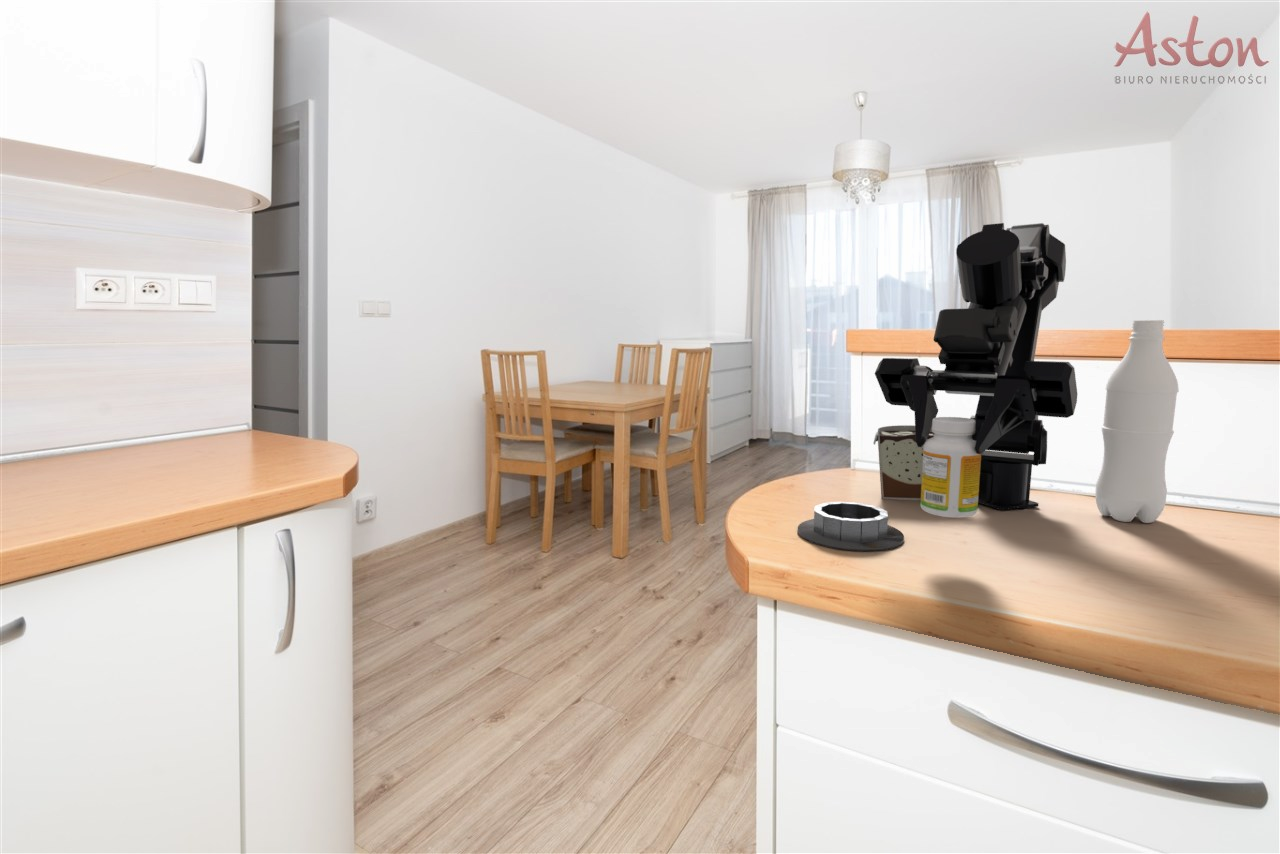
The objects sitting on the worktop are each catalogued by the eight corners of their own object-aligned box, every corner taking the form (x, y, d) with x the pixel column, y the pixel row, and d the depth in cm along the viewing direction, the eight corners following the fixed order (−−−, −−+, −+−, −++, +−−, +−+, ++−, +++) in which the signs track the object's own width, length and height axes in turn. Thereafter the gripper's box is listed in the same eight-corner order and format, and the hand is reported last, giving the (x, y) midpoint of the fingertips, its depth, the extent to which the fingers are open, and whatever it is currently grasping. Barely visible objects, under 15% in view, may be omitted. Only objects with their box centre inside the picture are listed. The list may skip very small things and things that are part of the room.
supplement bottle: (972, 506, 69) (978, 416, 67) (981, 520, 64) (988, 423, 62) (917, 502, 70) (922, 414, 69) (922, 516, 65) (928, 421, 64)
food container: (948, 490, 97) (952, 425, 95) (962, 501, 91) (966, 431, 89) (863, 488, 99) (866, 424, 97) (871, 498, 93) (874, 430, 91)
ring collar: (865, 516, 83) (866, 495, 83) (926, 546, 72) (928, 521, 72) (780, 524, 81) (781, 501, 80) (830, 555, 69) (831, 529, 69)
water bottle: (1167, 529, 77) (1192, 319, 74) (1095, 520, 81) (1115, 320, 77) (1158, 515, 83) (1180, 320, 80) (1091, 507, 87) (1109, 321, 84)
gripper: (885, 286, 73) (836, 391, 66) (1082, 275, 60) (1044, 404, 54) (908, 353, 79) (866, 454, 73) (1090, 356, 67) (1057, 479, 61)
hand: (947, 448), depth 65 cm, fingers closed on supplement bottle, 5 cm apart
